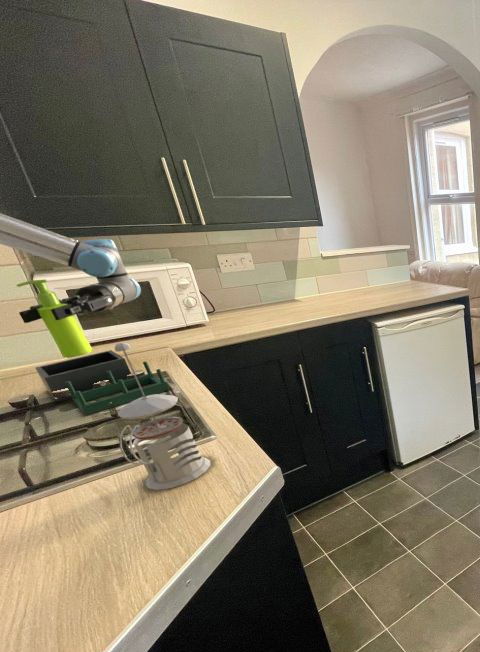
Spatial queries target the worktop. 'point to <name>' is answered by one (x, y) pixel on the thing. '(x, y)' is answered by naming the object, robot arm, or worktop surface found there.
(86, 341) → the soap dispenser
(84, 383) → the basin
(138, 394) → the dish rack
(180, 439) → the french press
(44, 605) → the worktop surface
